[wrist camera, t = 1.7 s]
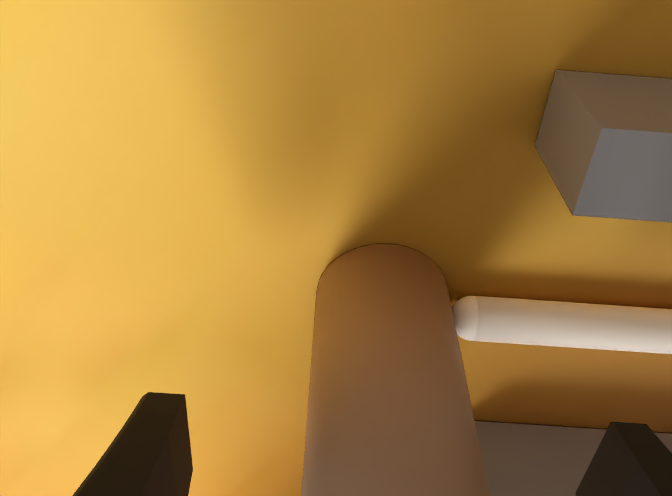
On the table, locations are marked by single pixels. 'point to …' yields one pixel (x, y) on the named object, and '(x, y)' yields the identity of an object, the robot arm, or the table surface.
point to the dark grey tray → (595, 201)
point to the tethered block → (424, 371)
